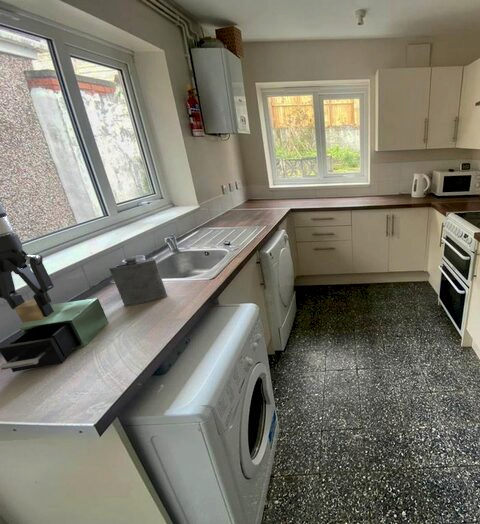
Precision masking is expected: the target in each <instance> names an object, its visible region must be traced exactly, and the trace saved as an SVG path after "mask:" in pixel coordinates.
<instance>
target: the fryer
mask: <svg viewBox="0 0 480 524" xmlns="http://www.w3.org/2000/svg"><path fill="white" fill-rule="evenodd" d="M51 307H52V309H53V311H54V312H53V313H52V314H50V315H49V316H48V317H45V318H44V319H42V320H37V321H30V322H25V323H24V324H23V325H22V326H20V327H19V330H20V331H21V334H23V333H24V332H25V331H27V330H28V329H32V328H38V327H45V326H51V325H58V324H65V323H70V325H71V327H72V329H73V331H74V333H75V335H76V337H77V339H78V341H79V342H80V343H79V344H78V345H77V346H76V347H75V348H74V349H73V350H75V349H80V348H85V347H86V346H88V344H89V343H90V342H91V341H92V340H93V339H95V337H96V336H97V335H98V334H99V333H100V332H101V331H102V330H104V328H105V327H106V326H107V325H108V324H109V320H108V317H107V315H106V313H105V310H104V308H103V306H102V304H101V301H100V299H99V297H94V298H88V299H81V300H73V301H65V302H59V303H53V304H52V305H51Z"/></svg>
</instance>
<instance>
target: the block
mask: <svg viewBox="0 0 480 524" xmlns="http://www.w3.org/2000/svg"><path fill="white" fill-rule="evenodd" d="M24 301H25V300H24ZM13 310H15V313H16V314H17V316H18V317H19V319H20V321H21V323H24V324H25V323H27V322H30V321H37V320H42V319H44V318H45V317H44V316H43V314H42V312H41V310H40V308H39V307H38V305H37V303H36V301H35V299H34V298H33V299H27V300H26V301H25V302H24V303H22V304H21V305H19V306H17V307H16V308H14V309H13Z"/></svg>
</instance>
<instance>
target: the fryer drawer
mask: <svg viewBox="0 0 480 524" xmlns="http://www.w3.org/2000/svg"><path fill="white" fill-rule="evenodd" d="M79 343H80V342H79V341H78V339H77V337H76V335H75V333H74V331H73V329H72V327H71V325H70V323H65V324H58V325H51V326H45V327H38V328H32V329H28V330H27V331H25V332H24V333H21V334H20V335H18V336H17V337H15V338H14V339H13V340H12V341H10V342H9V344H5V345H1V346H0V354H1V356H2V357H3V359H4V361H5V362H4V363H2V364H1V365H0V370H2V371H4V370H11V371H12V373H16V372H22V371H27V370H32V369H33V370H34V369H38V368H45V367H50V366H55V365H62V364H65V362H66V359H65V358H66V357H67V356H68V355H70V353H71V352H72V351H73V350H75V349H76V348H75V347H76V346H77V345H78V344H79ZM74 348H75V349H74Z"/></svg>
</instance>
